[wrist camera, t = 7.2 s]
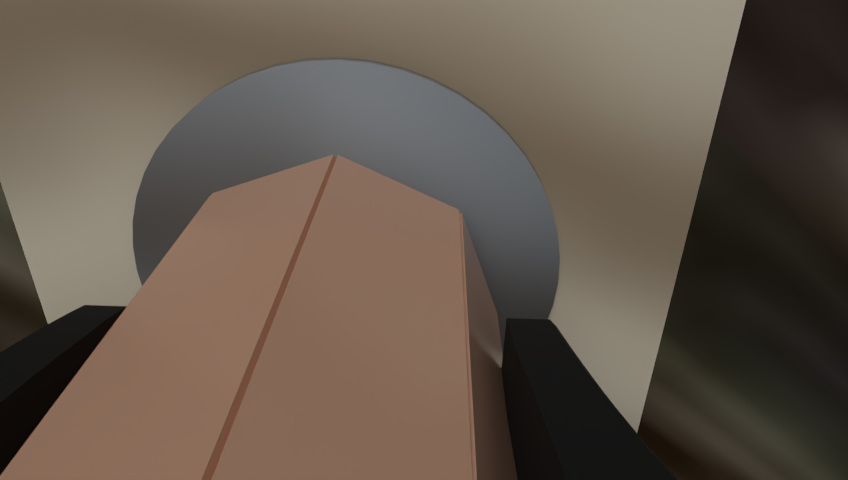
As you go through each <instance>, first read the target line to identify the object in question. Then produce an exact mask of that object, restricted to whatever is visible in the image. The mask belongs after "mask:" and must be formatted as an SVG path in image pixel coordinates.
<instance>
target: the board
mask: <svg viewBox="0 0 848 480" xmlns="http://www.w3.org/2000/svg"><path fill="white" fill-rule="evenodd" d="M745 2H746V0H0V182H1V185H2V188H3V191H4V194H5V197H6V200H7V203H8V206H9V209H10V212H11V215H12V218H13V221H14V224H15V227H16V230H17V233H18V236H19V239H20V242H21V245H22V248H23V251H24V254H25V257H26V260H27V263H28V266H29V269H30V272H31V275H32V278H33V281H34V284H35V287H36V290H37V293H38V296H39V298H40V301H41V304H42V307H43V310H44V313H45V316H46V319H47V322H48V324H50V323H51V322H53V321H55V320H57V319H58V318H60V317H62V316H64V315H66V314H68V313H70V312H72V311H74V310H76V309H78V308H80V307H82V306H84V305H99V306H128V304H129V303H130V302H131V300H132V299H133V298H134V296H135V295H136V294H137V292H138V291H139V290H140V288H141V287H142V286H143V284H144V283H145V282H146V280H147V279H148V278H149V276H150V275H151V274H152V272H153V271H154V270H155V268H156V267H157V266H158V264H159V263H160V262H161V260H162V259H163V258H164V256H165V255H166V254H167V252H168V251H169V250H170V248H171V247H172V246H173V244H174V243H175V242H176V240H177V239H178V238H179V236H180V235H181V234H182V232H183V231H184V230H185V228H186V227H187V226H188V224H189V223H190V222H191V220H192V219H193V218H194V216H195V215H196V214H197V212H198V211H199V210H200V208H201V207H202V206H203V204H204V203H205V201H206V200H207V199H208V197H209V196H211V195H212V193H214V192H218V191H221V190H224V189H227V188H230V187H233V186H236V185H239V184H242V183H246V182H249V181H252V180H255V179H258V178H261V177H264V176H267V175H271V174H274V173H277V172H280V171H283V170H286V169H289V168H292V167H296V166H299V165H302V164H305V163H308V162H311V161H314V160H317V159H321V158H324V157H327V156H330V155H333V154H334V157H335V159H336V158H337V156H338V155H340V156H342V157H344V158H346V159H349V160H351V161H353V162H355V163H357V164H360V165H362V166H364V167H366V168H368V169H371V170H373V171H375V172H377V173H379V174H382V175H384V176H386V177H388V178H390V179H393V180H395V181H397V182H399V183H401V184H404V185H406V186H408V187H410V188H412V189H415V190H417V191H419V192H421V193H423V194H426V195H428V196H430V197H432V198H434V199H437V200H439V201H441V202H443V203H445V204H448V205H450V206H452V207H454V208H456V209H459V213H462V214H463V217H464V220H465V223H466V226H467V228H468V231H469V234H470V237H471V240H472V243H473V246H474V248H475V251H476V254H477V257H478V260H479V263H480V266H481V268H482V271H483V274H484V277H485V280H486V283H487V286H488V288H489V291H490V294H491V297H492V300H493V303H494V306H495V308H496V311H497V315H498V323H499V331H500V339H501V347H502V355H503V348H504V338H505V328H506V318H519V319H550V320H551V321H552V322H553V323H554V324H555V325H556V326H557V328H558V329H559V331H560V332H561V334H562V335H563V337H564V338H565V339H566V341H567V342H568V344H569V345H570V347H571V348H572V349H573V351H574V352H575V354H576V355H577V357H578V358H579V359H580V361H581V362H582V363H583V365H584V366H585V368H586V369H587V370H588V372H589V373H590V374H591V376H592V377H593V378H594V380H595V381H596V382H597V384H598V385H599V386H600V388H601V389H602V390H603V392H604V393H605V394H606V396H607V397H608V398H609V399H610V401H611V402H612V403H613V404H614V406H615V407H616V408H617V409H618V411H619V412H620V413H621V414H622V416H623V417H624V418H625V419H626V420H627V422H628V423H629V424H630V425H631V427H632V428H633V429H634V430H635V432H636V433H637V431H638V427H639V424H640V420H641V416H642V412H643V408H644V404H645V400H646V396H647V392H648V388H649V384H650V380H651V376H652V372H653V368H654V364H655V360H656V356H657V352H658V348H659V344H660V340H661V336H662V332H663V328H664V324H665V320H666V316H667V312H668V308H669V304H670V300H671V296H672V292H673V288H674V284H675V280H676V276H677V272H678V268H679V264H680V260H681V257H682V253H683V249H684V245H685V241H686V237H687V233H688V229H689V225H690V221H691V217H692V213H693V209H694V205H695V201H696V197H697V193H698V189H699V185H700V181H701V177H702V173H703V169H704V165H705V161H706V157H707V153H708V149H709V145H710V141H711V137H712V133H713V129H714V125H715V121H716V117H717V113H718V109H719V105H720V101H721V97H722V93H723V90H724V86H725V82H726V78H727V74H728V70H729V66H730V62H731V58H732V54H733V50H734V46H735V42H736V38H737V34H738V30H739V26H740V22H741V18H742V14H743V10H744V6H745Z"/></svg>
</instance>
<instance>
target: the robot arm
mask: <svg viewBox="0 0 848 480" xmlns="http://www.w3.org/2000/svg"><path fill="white" fill-rule="evenodd" d="M126 307H127V306H99V305H84V306H82V307H80V308H78V309H76V310H74V311H72V312H70V313H68V314H66V315H64V316H62V317H60V318H58V319H57V320H55V321H53V322H51V323H50V324H48V325H46V326H44V327H43V328H41V329H39V330H37V331H36V332H34V333H32V334H31V335H29V336H27V337H26V338H24V339H22V340H21V341H19V342H17V343H15V344H14V345H12V346H10V347H9V348H7V349H5V350H4V351H2V352H0V475H1V474H2V472H3V471H4V470H5V468H6V467H7V466H8V464H9V463H10V462H11V460H12V459H13V458H14V456H15V455H16V454H17V452H18V451H19V450H20V448H21V447H22V446H23V444H24V443H25V442H26V440H27V439H28V438H29V436H30V435H31V434H32V432H33V431H34V430H35V428H36V427H37V426H38V424H39V423H40V422H41V420H42V419H43V418H44V416H45V415H46V414H47V412H48V411H49V410H50V408H51V407H52V406H53V404H54V403H55V402H56V400H57V399H58V398H59V396H60V395H61V394H62V392H63V391H64V390H65V388H66V387H67V386H68V384H69V383H70V382H71V380H72V379H73V378H74V376H75V375H76V374H77V372H78V371H79V370H80V368H81V367H82V366H83V364H84V363H85V362H86V360H87V359H88V358H89V356H90V355H91V354H92V352H93V351H94V350H95V348H96V347H97V346H98V344H99V343H100V342H101V340H102V339H103V338H104V336H105V335H106V334H107V332H108V331H109V330H110V328H111V327H112V326H113V324H114V323H115V322H116V320H117V319H118V318H119V316H120V315H121V314H122V312H123V311H124V310H125V308H126ZM501 369H502V377H503V386H504V394H505V402H506V411H507V419H508V425H509V431H510V437H511V443H512V449H513V455H514V461H515V466H516V472H517V478H518V480H677V479H676V478H675V476H674V475H673V474H672V473H671V472H670V471H669V470H668V469H667V468H666V466H665V465H664V464H663V463H662V462H661V461H660V460H659V459H658V458H657V456H656V455H655V454H654V453H653V452H652V451H651V449H650V448H649V447H648V446H647V445H646V444H645V442H644V441H643V440H642V439H641V438H640V436H639V435H638V434H637V433H636V432H635V430H634V429H633V428H632V427H631V425H630V424H629V423H628V422H627V420H626V419H625V418H624V417H623V416H622V414H621V413H620V412H619V411H618V409H617V408H616V407H615V406H614V404H613V403H612V402H611V401H610V399H609V398H608V397H607V396H606V394H605V393H604V392H603V390H602V389H601V388H600V386H599V385H598V384H597V382H596V381H595V380H594V378H593V377H592V376H591V374H590V373H589V372H588V370H587V369H586V368H585V366H584V365H583V363H582V362H581V361H580V359H579V358H578V357H577V355H576V354H575V352H574V351H573V349H572V348H571V347H570V345H569V344H568V342H567V341H566V339H565V338H564V337H563V335H562V334H561V332H560V331H559V329H558V328H557V326H556V325H555V324H554V323H553V322H552V321H551V320H550V319H519V318H506V328H505V338H504V348H503V358H502V368H501Z"/></svg>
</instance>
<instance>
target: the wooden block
mask: <svg viewBox="0 0 848 480" xmlns="http://www.w3.org/2000/svg"><path fill="white" fill-rule="evenodd" d="M502 358H503V355H502V347H501V339H500V331H499V323H498V315H497V311H496V308H495V306H494V303H493V300H492V297H491V294H490V291H489V288H488V286H487V283H486V280H485V277H484V274H483V271H482V268H481V266H480V263H479V260H478V257H477V254H476V251H475V248H474V246H473V243H472V240H471V237H470V234H469V231H468V228H467V226H466V223H465V220H464V217H463V214H462V213H459V209H456V208H454V207H452V206H450V205H448V204H445V203H443V202H441V201H439V200H437V199H434V198H432V197H430V196H428V195H426V194H423V193H421V192H419V191H417V190H415V189H412V188H410V187H408V186H406V185H404V184H401V183H399V182H397V181H395V180H393V179H390V178H388V177H386V176H384V175H382V174H379V173H377V172H375V171H373V170H371V169H368V168H366V167H364V166H362V165H360V164H357V163H355V162H353V161H351V160H349V159H346V158H344V157H342V156H340V155H338V156H337V158H336V159H335V157H334V154H333V155H330V156H327V157H324V158H321V159H317V160H314V161H311V162H308V163H305V164H302V165H299V166H296V167H292V168H289V169H286V170H283V171H280V172H277V173H274V174H271V175H267V176H264V177H261V178H258V179H255V180H252V181H249V182H246V183H242V184H239V185H236V186H233V187H230V188H227V189H224V190H221V191H218V192H214V193H212V195H211V196H209V197H208V199H207V200H206V201H205V203H204V204H203V206H202V207H201V208H200V210H199V211H198V212H197V214H196V215H195V216H194V218H193V219H192V220H191V222H190V223H189V224H188V226H187V227H186V228H185V230H184V231H183V232H182V234H181V235H180V236H179V238H178V239H177V240H176V242H175V243H174V244H173V246H172V247H171V248H170V250H169V251H168V252H167V254H166V255H165V256H164V258H163V259H162V260H161V262H160V263H159V264H158V266H157V267H156V268H155V270H154V271H153V272H152V274H151V275H150V276H149V278H148V279H147V280H146V282H145V283H144V284H143V286H142V287H141V288H140V290H139V291H138V292H137V294H136V295H135V296H134V298H133V299H132V300H131V302H130V303H129V304H128V306H127V307H126V308H125V310H124V311H123V312H122V314H121V315H120V316H119V318H118V319H117V320H116V322H115V323H114V324H113V326H112V327H111V328H110V330H109V331H108V332H107V334H106V335H105V336H104V338H103V339H102V340H101V342H100V343H99V344H98V346H97V347H96V348H95V350H94V351H93V352H92V354H91V355H90V356H89V358H88V359H87V360H86V362H85V363H84V364H83V366H82V367H81V368H80V370H79V371H78V372H77V374H76V375H75V376H74V378H73V379H72V380H71V382H70V383H69V384H68V386H67V387H66V388H65V390H64V391H63V392H62V394H61V395H60V396H59V398H58V399H57V400H56V402H55V403H54V404H53V406H52V407H51V408H50V410H49V411H48V412H47V414H46V415H45V416H44V418H43V419H42V420H41V422H40V423H39V424H38V426H37V427H36V428H35V430H34V431H33V432H32V434H31V435H30V436H29V438H28V439H27V440H26V442H25V443H24V444H23V446H22V447H21V448H20V450H19V451H18V452H17V454H16V455H15V456H14V458H13V459H12V460H11V462H10V463H9V464H8V466H7V467H6V468H5V470H4V471H3V472H2V474H1V475H0V480H518V478H517V472H516V466H515V461H514V455H513V449H512V443H511V437H510V431H509V425H508V419H507V411H506V402H505V394H504V386H503V377H502V369H501V368H502Z"/></svg>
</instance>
